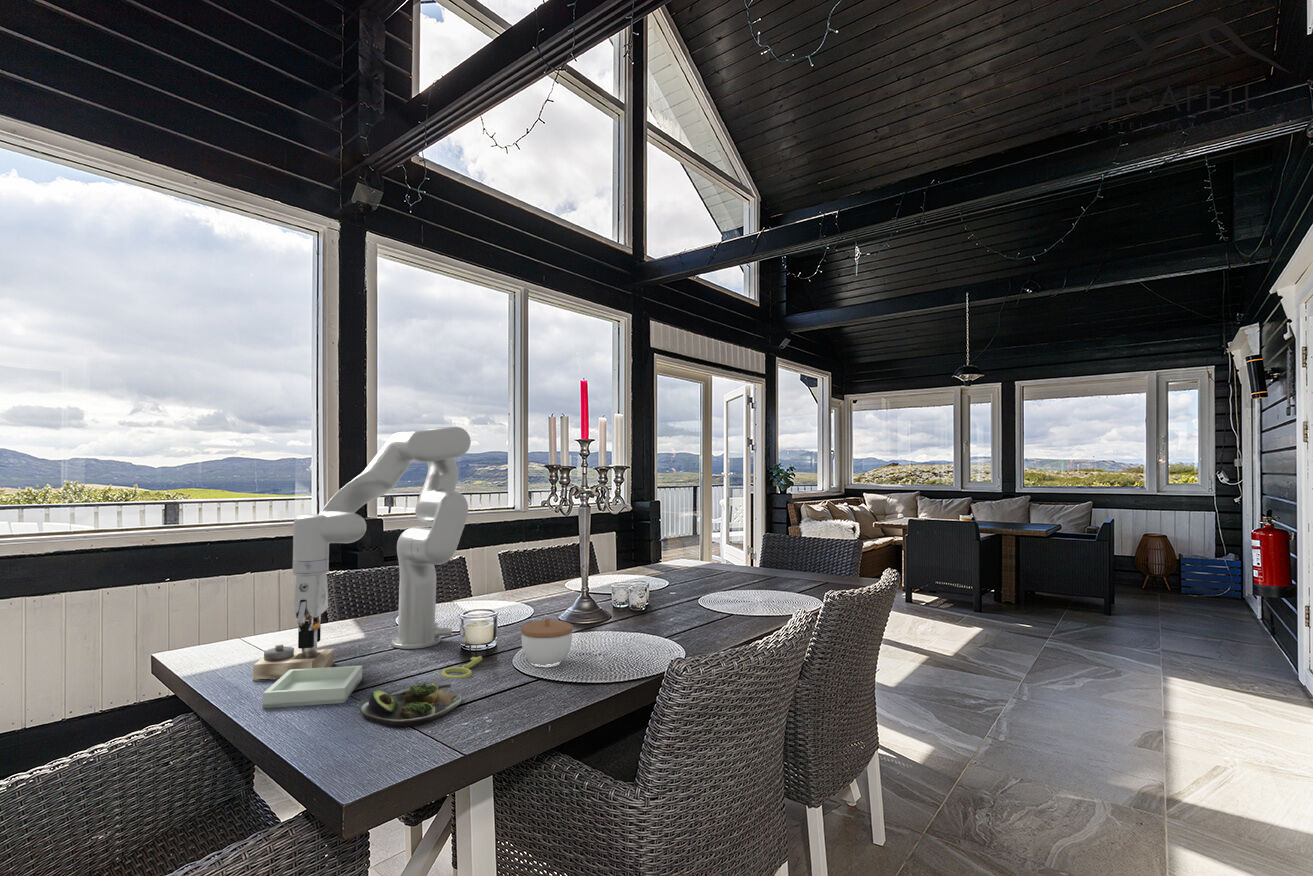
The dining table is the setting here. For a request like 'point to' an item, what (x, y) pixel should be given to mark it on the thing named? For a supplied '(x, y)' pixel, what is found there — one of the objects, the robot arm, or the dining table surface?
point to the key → (462, 669)
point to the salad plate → (408, 705)
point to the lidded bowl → (546, 641)
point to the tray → (313, 686)
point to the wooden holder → (288, 662)
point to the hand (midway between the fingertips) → (309, 644)
